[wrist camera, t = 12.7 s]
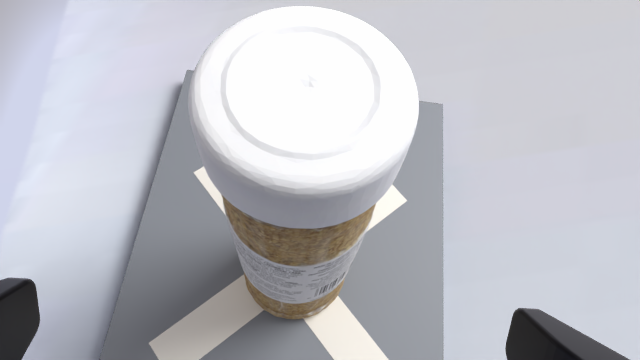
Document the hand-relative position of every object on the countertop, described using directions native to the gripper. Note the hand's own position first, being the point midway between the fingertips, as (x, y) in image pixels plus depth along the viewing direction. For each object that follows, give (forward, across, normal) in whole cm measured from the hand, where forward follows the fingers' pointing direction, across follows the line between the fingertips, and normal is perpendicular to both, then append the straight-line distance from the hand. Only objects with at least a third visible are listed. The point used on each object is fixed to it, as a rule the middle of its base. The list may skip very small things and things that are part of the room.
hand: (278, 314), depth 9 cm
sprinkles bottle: (+11, 0, +5) cm, 12 cm away
